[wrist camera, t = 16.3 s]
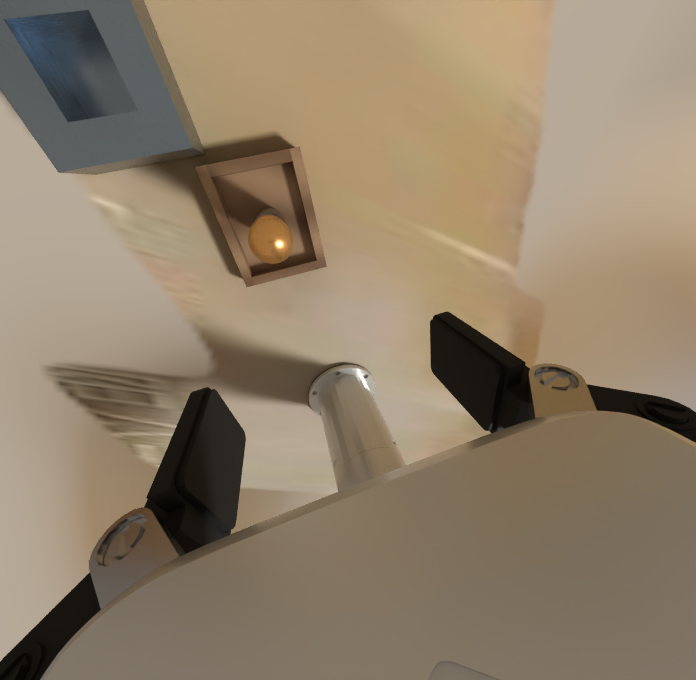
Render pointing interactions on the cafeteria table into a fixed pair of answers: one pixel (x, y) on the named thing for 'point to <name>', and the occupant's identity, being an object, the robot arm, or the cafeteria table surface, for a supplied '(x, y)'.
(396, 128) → the cafeteria table surface
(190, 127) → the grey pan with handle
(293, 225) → the tray
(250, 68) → the cafeteria table surface
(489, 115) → the cafeteria table surface
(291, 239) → the orange grey cylinder
